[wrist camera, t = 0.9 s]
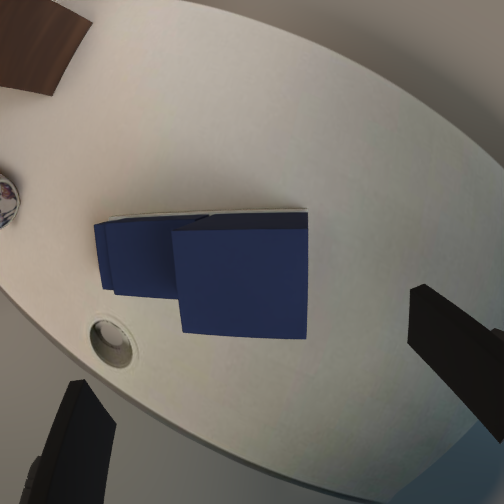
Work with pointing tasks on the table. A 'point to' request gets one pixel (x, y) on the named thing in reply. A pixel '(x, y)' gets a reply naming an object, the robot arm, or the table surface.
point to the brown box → (37, 43)
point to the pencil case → (7, 201)
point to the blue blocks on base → (214, 267)
